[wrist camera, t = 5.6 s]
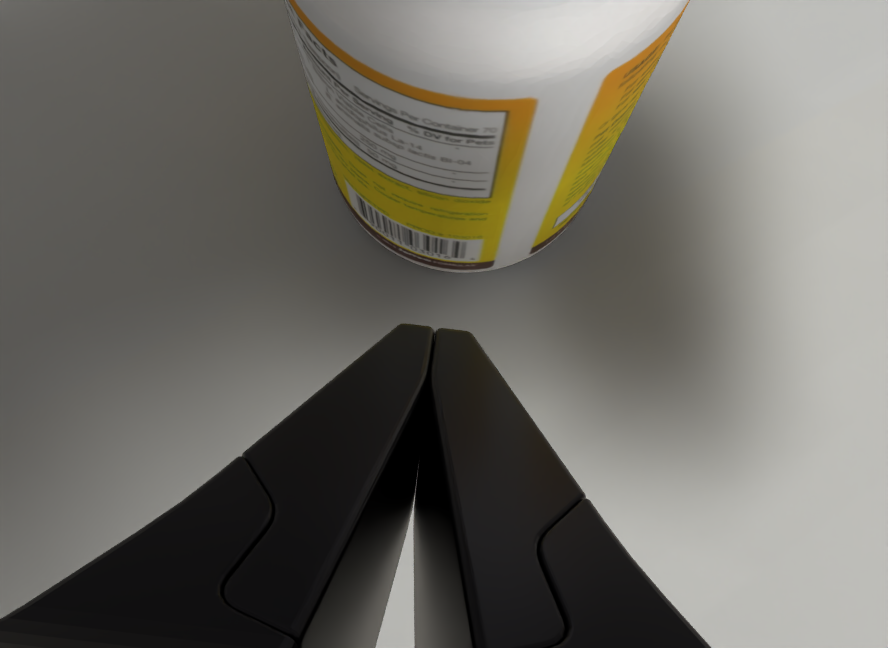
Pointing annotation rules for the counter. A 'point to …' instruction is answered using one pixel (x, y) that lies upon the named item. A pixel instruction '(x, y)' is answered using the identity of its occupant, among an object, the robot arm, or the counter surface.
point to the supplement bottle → (474, 114)
